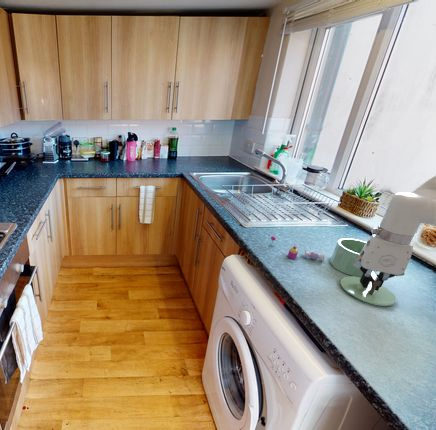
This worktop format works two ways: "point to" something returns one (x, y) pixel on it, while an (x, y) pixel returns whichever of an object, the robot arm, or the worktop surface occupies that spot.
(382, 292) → the lid
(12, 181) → the worktop surface
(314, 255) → the candies
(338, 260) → the canister
